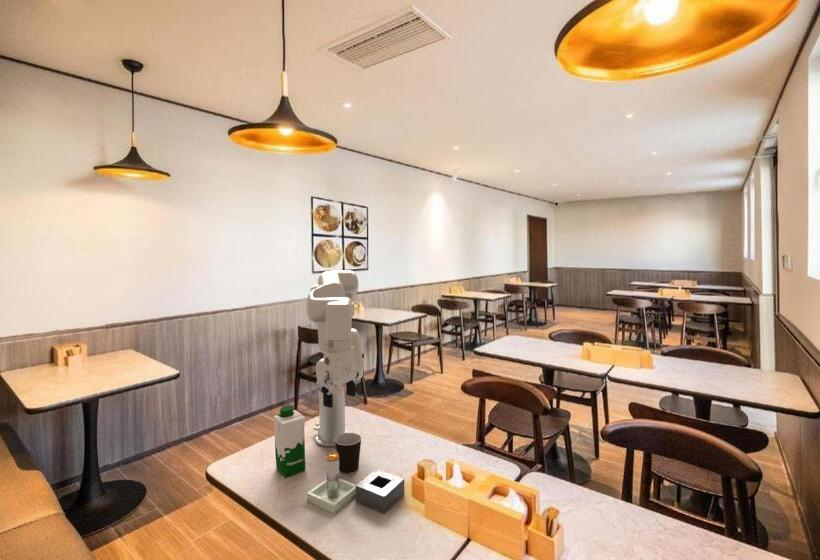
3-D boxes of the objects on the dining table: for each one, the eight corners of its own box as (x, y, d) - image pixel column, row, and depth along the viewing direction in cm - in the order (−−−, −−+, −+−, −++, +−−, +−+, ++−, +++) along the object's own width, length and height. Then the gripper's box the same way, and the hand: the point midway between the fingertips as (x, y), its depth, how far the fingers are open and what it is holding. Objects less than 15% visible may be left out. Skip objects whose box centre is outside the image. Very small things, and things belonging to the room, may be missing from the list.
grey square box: (355, 502, 113) (355, 485, 113) (376, 484, 121) (376, 468, 121) (384, 514, 108) (384, 496, 107) (404, 495, 116) (404, 478, 116)
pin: (324, 496, 114) (323, 456, 114) (333, 490, 117) (332, 450, 117) (333, 500, 113) (333, 459, 112) (342, 493, 116) (341, 454, 115)
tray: (307, 501, 113) (306, 493, 113) (332, 483, 122) (332, 475, 122) (334, 513, 108) (334, 505, 108) (358, 494, 117) (358, 485, 117)
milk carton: (297, 459, 136) (296, 403, 135) (309, 470, 129) (308, 411, 128) (272, 468, 131) (270, 409, 129) (283, 481, 124) (281, 418, 122)
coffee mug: (356, 476, 126) (356, 446, 125) (331, 474, 127) (330, 443, 127) (367, 458, 137) (367, 430, 136) (344, 455, 139) (343, 428, 138)
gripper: (326, 352, 106) (328, 414, 108) (367, 339, 120) (368, 394, 122) (307, 348, 110) (308, 408, 112) (349, 336, 124) (350, 389, 126)
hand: (339, 400), depth 117 cm, fingers open, 9 cm apart
